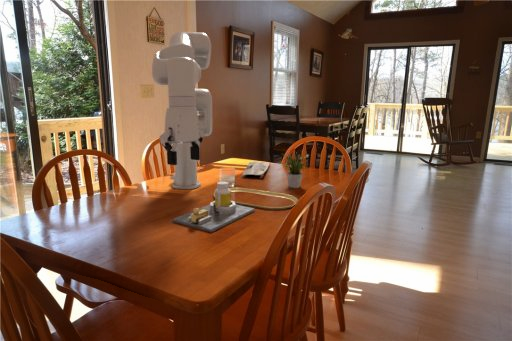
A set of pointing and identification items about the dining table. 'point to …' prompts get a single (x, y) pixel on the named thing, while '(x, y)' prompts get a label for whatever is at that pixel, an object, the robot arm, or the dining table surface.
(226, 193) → the supplement bottle
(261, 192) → the gold oval ring
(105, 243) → the dining table surface
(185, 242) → the dining table surface
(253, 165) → the newspaper
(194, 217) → the bolt
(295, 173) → the house plant
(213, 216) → the dock
